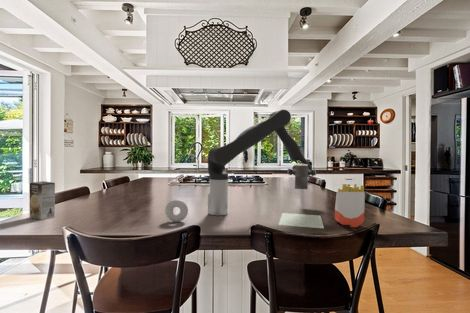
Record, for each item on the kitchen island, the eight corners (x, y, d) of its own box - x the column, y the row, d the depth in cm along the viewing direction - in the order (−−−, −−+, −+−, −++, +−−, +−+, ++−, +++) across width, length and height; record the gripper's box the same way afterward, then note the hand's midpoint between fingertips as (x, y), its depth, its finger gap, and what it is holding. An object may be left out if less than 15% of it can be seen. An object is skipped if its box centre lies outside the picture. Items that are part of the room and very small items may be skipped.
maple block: (294, 188, 117) (295, 165, 117) (295, 184, 131) (296, 163, 131) (307, 189, 116) (308, 165, 116) (306, 185, 130) (307, 164, 130)
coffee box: (28, 217, 124) (28, 182, 124) (43, 214, 130) (43, 181, 130) (41, 220, 121) (40, 183, 120) (55, 217, 126) (55, 182, 126)
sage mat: (278, 227, 114) (278, 224, 114) (282, 215, 135) (282, 213, 135) (323, 230, 109) (323, 228, 109) (320, 217, 131) (320, 215, 131)
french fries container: (334, 224, 120) (335, 182, 119) (358, 224, 120) (359, 183, 119) (338, 226, 115) (339, 184, 114) (364, 227, 115) (365, 184, 115)
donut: (164, 222, 119) (164, 199, 118) (166, 220, 122) (166, 198, 122) (187, 223, 118) (187, 200, 118) (188, 221, 122) (188, 198, 122)
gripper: (287, 163, 142) (285, 164, 126) (316, 163, 139) (318, 165, 122) (287, 177, 143) (285, 181, 126) (316, 178, 139) (317, 182, 123)
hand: (301, 173), depth 124 cm, fingers closed on maple block, 5 cm apart
